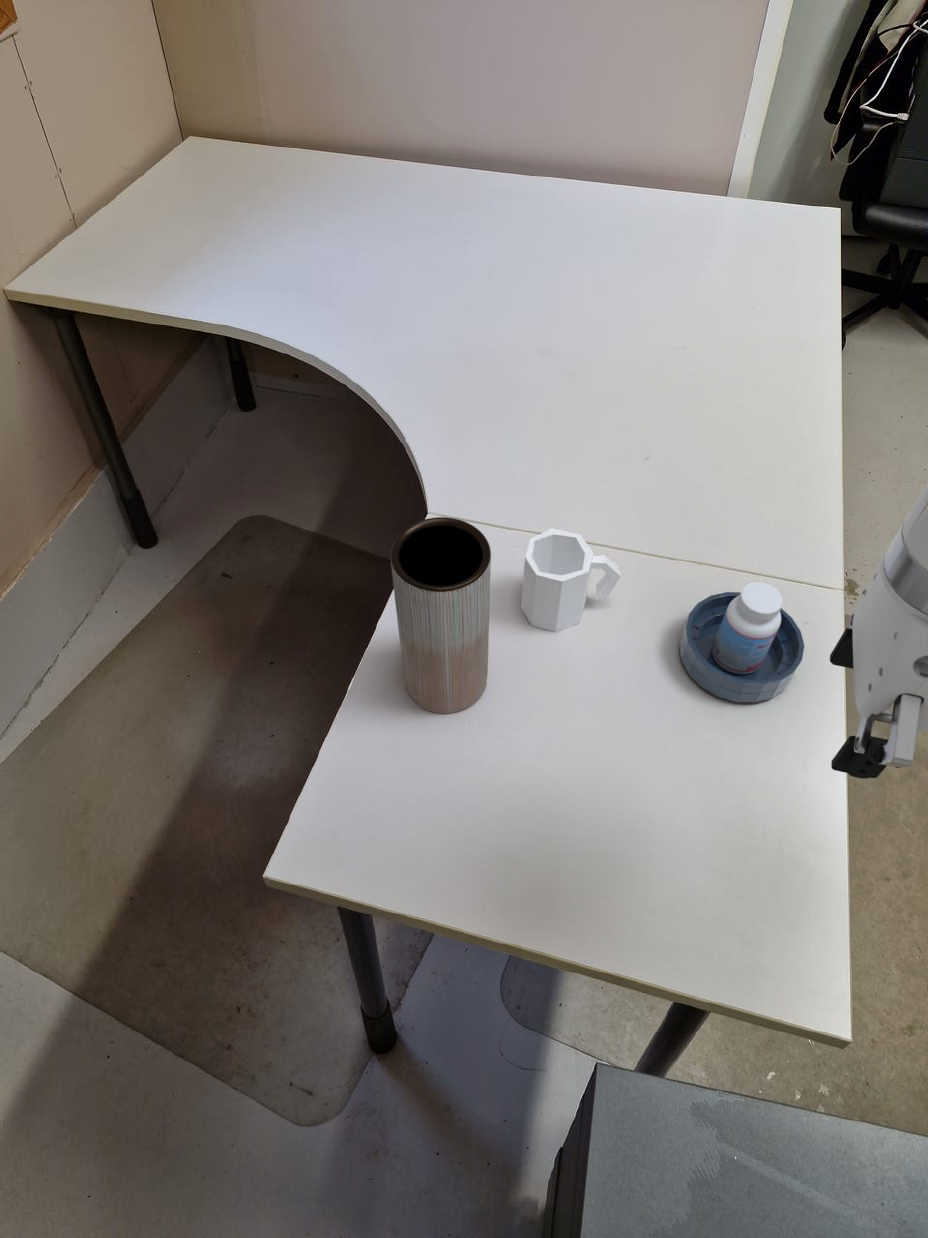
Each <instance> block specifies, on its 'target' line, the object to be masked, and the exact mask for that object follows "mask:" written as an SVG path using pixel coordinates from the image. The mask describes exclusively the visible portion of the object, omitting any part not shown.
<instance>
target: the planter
mask: <svg viewBox="0 0 928 1238" xmlns="http://www.w3.org/2000/svg"><path fill="white" fill-rule="evenodd" d="M389 557H390V567H391V578H392V585H393V595H394V602H395V611H396V619H397V620H396V621H397V628H398V638H399V646H400V655H401V663H402V664H401V665H402V673H403V680H404V685H405V689H406V691H407V693H408V695H409V697H410V699H412V701H413V702H414V703H415V704H417V705H418V706H419V707H421V708H423V709H425V710H427V711H428V712H429V711H430V712H432V713H437V714H453V713H458V712H461V711H464V710H466V709H468V708H470V707H472V706H473V705H474V704H476V703H477V702H478V700H479V699H481V697H482V696H483V694H484V692H485V690H486V687H487V683H488V674H489V672H488V670H489V644H490V643H489V641H490V639H489V637H490V610H491V609H490V606H491V605H490V603H491V602H490V601H491V571H492V550H491V546H490V543H489V541H488V539H487V538H486V536H485V535H484V533H483V532H482V531H480V530H479V529H478V528H477V527H476V526H474V525H473V524H471V523H469V522H467V521H464V520H462V519H458V518H453V517H447V516H446V517H445V516H443V517H442V516H438V517H430V518H425V519H421V520H418V521H417V522H414V523H412V524H410V525H409V526H407V527H405V528H404V529H403V530H402V531H401V532H400V533H399V534H398V535H397V537H396V538H395V540H394V541H393V543H392V546H391V548H390V555H389Z"/></svg>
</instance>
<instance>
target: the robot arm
mask: <svg viewBox="0 0 928 1238" xmlns="http://www.w3.org/2000/svg"><path fill="white" fill-rule="evenodd" d="M829 663H830V664H831V665H833V666H837V667H843V668H847V669H852V670H853V686H854V687H853V688H854V703H855V707H856V710H857V712H858V714H859V715H860V716H861V717H860V721H859V724H858V727H857V730H856V734H855V735H849V736H848V737H847V739H846V740H845V742H844V743H843V744H842V745H841V747H840V749H839V750H838V751H837V753H836V754H835V755H834V757H833V758H832V760H831V764H830V765H831V767H830V768H831V770H833V771H837V772H841V773H846V774H848V775H849V776H850V777H853V778H857V779H861V780H862V779H863V780H865V779H877V778H878V777H879V776H880V775H881V773H882V772H884V770H885V769H886V767H890V768H891V767H892V768H896V769H900V768H910V767H912V765H913V764H914V759H915V751H916V744H917V739H918V738H917V737H918V731H919V732H927V731H928V480H927V481H926V483H925V484H924V486H923V489H921V492H920V494H919V495H918V497H917V499H916V500H915V502H914V503H913V505H912V506H911V508H910V509H909V512H908V514H907V516H906V517H905V519H904V521H903V522H902V524H901V525H900V527H899V529H898V531H897V533H896V534H895V536H894V538H893V539H892V541H891V543H890V544H889V546H888V548H887V549H886V551H885V553H884V554H883V556H882V558H881V560H879V561H878V562H877V565H876V567H875V570H874V574H873V576H872V579H871V580H870V582H869V583H868V585H867V587H866V588H865V589H864V590H863V591H862V594H861V597H860V599H859V601H858V603H857V606H856V608H855V610H854V612H852V613H851V616H850V618H849V628H848V627H846V628H845V630H844V631H843V633H842V634H841V636H840V638H839V639H838V641H837V643H836V645H835V647H834V648H833V650H832V651H831V653H830V654H829ZM892 705H893V706H892ZM891 707H892V710H890V708H891ZM875 722H881V723H886V724H889V725H890V728H889V733H888V734H889V735H888V738H882V737H878V736H877V737H876V736H873V735H872V733H873V728H874V725H875Z"/></svg>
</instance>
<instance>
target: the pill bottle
mask: <svg viewBox="0 0 928 1238" xmlns="http://www.w3.org/2000/svg"><path fill="white" fill-rule="evenodd" d="M740 592H741V593H740V594H739V596H737V597H736V598H734V599H733V600H732V601H731V602H730V604H729V606H728V608H727V610H726V613H725V615H724V618H723V620H722V623H721V625H720V628H719V630H718V633H717V636H716V638H715V641H714V643H713V646H712V654H713V657H714V659H715V661H716V662H717V664H718V665H719V666H720V667H722V668H723V669H725V670H727V671H729V672H732V673H736V674H749V673H752V672H754V671H756V670H757V669H758V668H759V667H760V666H761V664H762V662H763V660H764V658H765V656H766V654H767V652H768V650H769V648H770V646H771V644H772V642H773V639H774V638H775V635H776V633H777V631H778V629H779V627H780V624H781V614H780V609H781V608H782V606H783V602H784V601H783V600H784V599H783V595H782V594H781V592H780V591H779V590H778V589H777V588H776V587H775V586H773V585H771V584H769V583H767V582H763V581H753V582H749V583H746V585H744V586H743V587H742V589H741V591H740Z"/></svg>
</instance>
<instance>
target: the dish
mask: <svg viewBox="0 0 928 1238" xmlns="http://www.w3.org/2000/svg"><path fill="white" fill-rule="evenodd" d="M740 593H741V591H740V592H739V591H725V592H721V593H717V594H716V593H715V594H712V595H709V596H708V597H706V598H704V599H702V600H701V601H699V602H697V603H696V604H695V606H694V607H693V608H692V610H691V611H690V612H689V614H688V616H687V619H686V622H685V625H684V627H683V631H682V634H681V638H680V641H679V655H680V660H681V662H682V664H683V666H684V668H685V670H686V672H687V673H688V675H689V676H690V677H691V678H692V679H693V680H694V681H695V682H696V683H697V684H698V685H699V686H700V687H701V689H704V690H706V691H708V692H709V693H711V694H712V695H714V696H716V697H718V698H721V699H724V700H728V701H730V702H731V701H732V702H735V703H758V702H763V701H767V700H770V699H773V698H774V697H776V696H778V695H779V694H780V693H782V692H783V691H785V690H786V688H787V686H788V685H789V683H790V682H791V680H793V677H794V676H795V674H796V672H797V670H798V669H799V666H800V665H801V663H802V661H803V659H804V658H803V657H804V650H805V642H804V639H803V635H802V631H801V629H800V627H799V626H798V624H797V623H796V621H795V620H794V618H793V617H792V616H791V615H789V613H787V611H786V610H784V609H783V608H782V607H781V609H780V614H781V624H780V627H779V629H778V631H777V633H776V635H775V638H774V639H773V642H772V644H771V646H770V648H769V650H768V652H767V654H766V656H765V658H764V660H763V662H762V664H761V666H760V667H759V668H758V669H757V670H756V671H754V672H752V673H749V674H736V673H732V672H729V671H727V670H725V669H723V668H722V667H720V666H719V665H718V664H717V662H716V661H715V659H714V657H713V654H712V646H713V643H714V641H715V638H716V636H717V633H718V630H719V628H720V625H721V623H722V620H723V618H724V615H725V613H726V610H727V608H728V606H729V604H730V602H731V601H732V600H733V599H734V598H736V597H737V596H739V594H740Z"/></svg>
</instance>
